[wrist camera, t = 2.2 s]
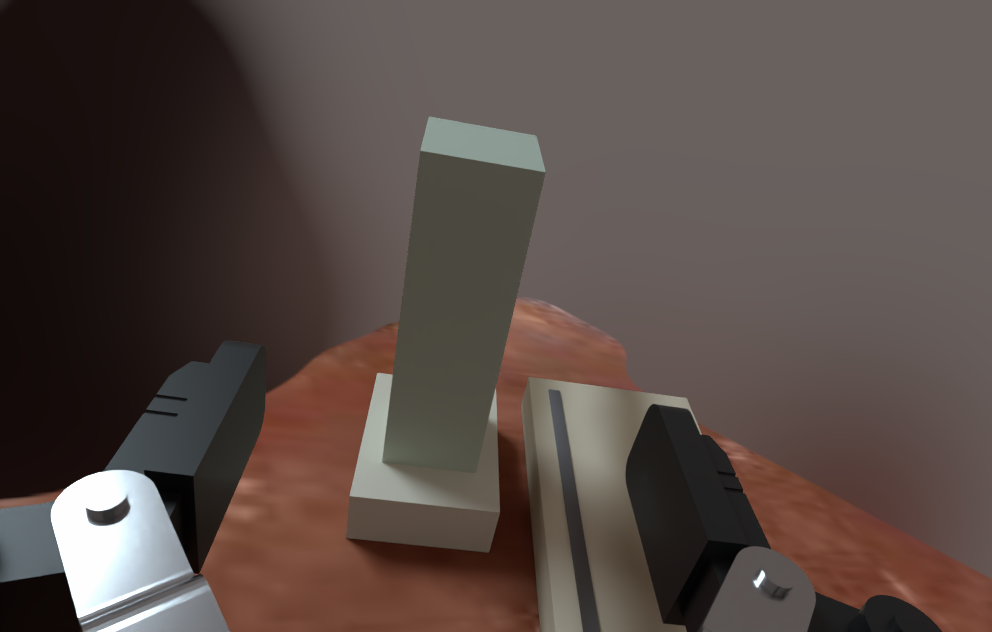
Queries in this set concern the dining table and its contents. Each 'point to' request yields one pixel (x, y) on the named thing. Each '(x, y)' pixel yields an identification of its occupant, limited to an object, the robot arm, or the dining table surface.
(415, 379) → the grey pillar on base
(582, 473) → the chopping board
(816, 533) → the dining table surface
